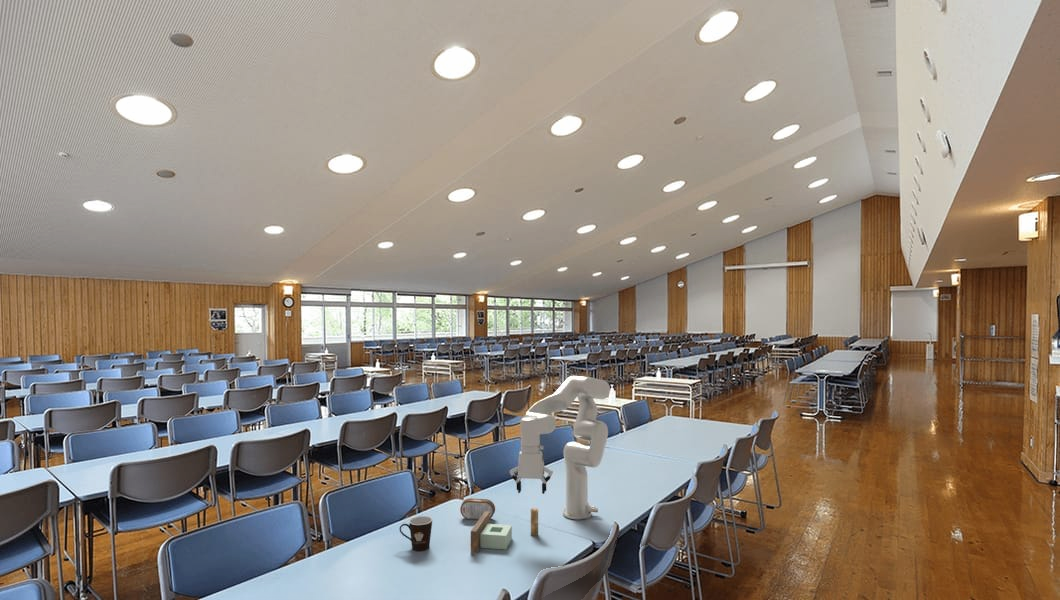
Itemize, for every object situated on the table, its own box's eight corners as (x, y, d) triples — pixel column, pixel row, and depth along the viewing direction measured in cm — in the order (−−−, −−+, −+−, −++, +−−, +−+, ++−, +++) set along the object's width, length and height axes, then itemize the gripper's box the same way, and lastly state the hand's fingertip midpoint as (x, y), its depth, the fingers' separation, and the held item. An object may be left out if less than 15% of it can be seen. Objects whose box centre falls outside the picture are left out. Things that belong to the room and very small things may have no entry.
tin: (495, 518, 220) (495, 498, 220) (494, 521, 217) (494, 501, 217) (461, 517, 221) (461, 497, 222) (459, 520, 218) (459, 500, 219)
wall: (489, 531, 206) (489, 511, 206) (475, 553, 186) (475, 531, 186) (484, 531, 206) (484, 511, 206) (470, 553, 186) (470, 531, 187)
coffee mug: (436, 544, 194) (437, 518, 194) (423, 554, 186) (423, 526, 186) (412, 539, 198) (412, 513, 199) (397, 548, 191) (398, 521, 191)
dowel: (538, 533, 204) (538, 508, 204) (537, 536, 201) (537, 510, 201) (531, 532, 204) (531, 507, 205) (530, 536, 201) (530, 510, 202)
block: (511, 538, 199) (511, 525, 199) (506, 549, 189) (506, 535, 189) (487, 536, 201) (487, 523, 201) (480, 547, 191) (480, 534, 191)
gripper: (553, 446, 203) (554, 489, 203) (510, 446, 206) (512, 488, 206) (550, 452, 196) (552, 496, 196) (507, 451, 199) (508, 495, 198)
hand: (531, 492), depth 201 cm, fingers open, 9 cm apart
